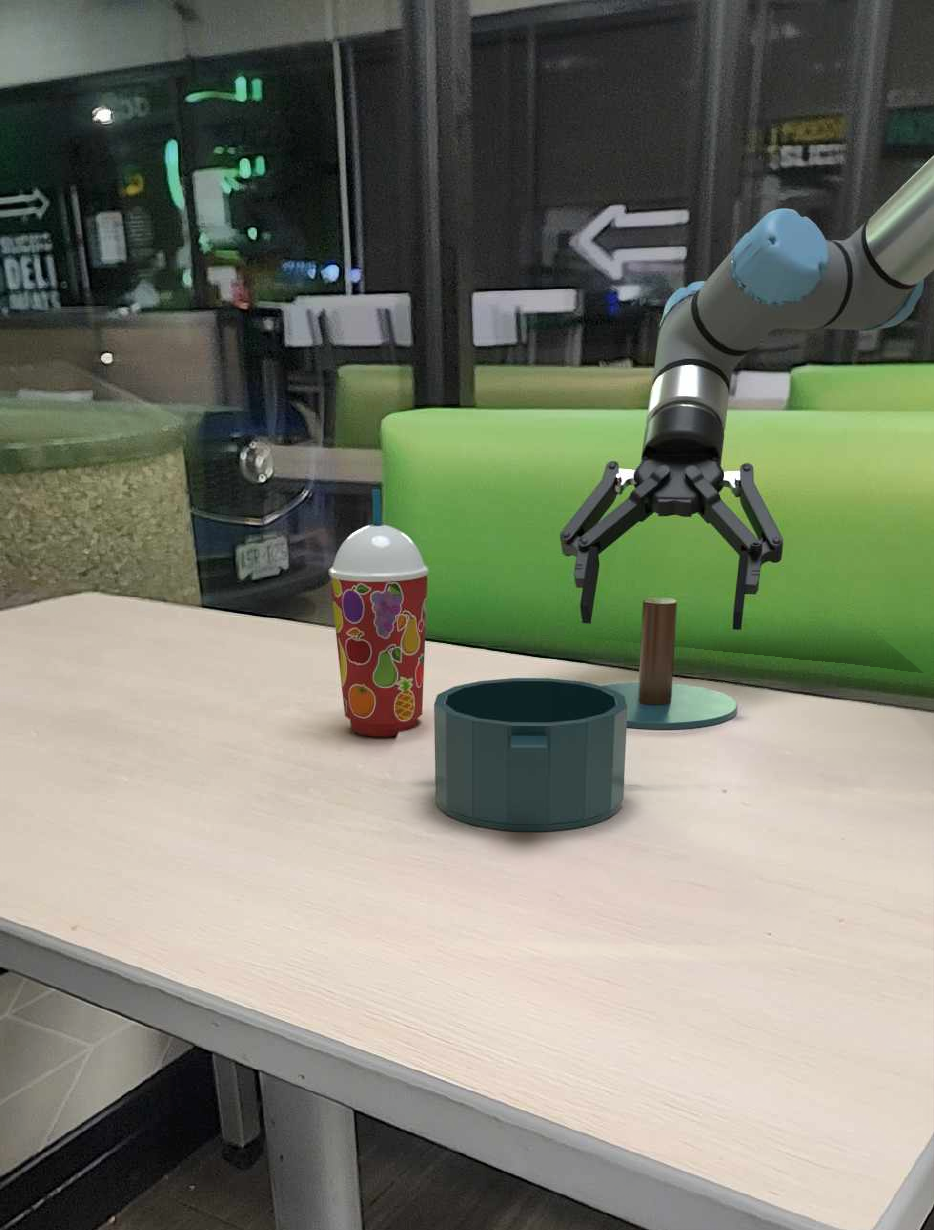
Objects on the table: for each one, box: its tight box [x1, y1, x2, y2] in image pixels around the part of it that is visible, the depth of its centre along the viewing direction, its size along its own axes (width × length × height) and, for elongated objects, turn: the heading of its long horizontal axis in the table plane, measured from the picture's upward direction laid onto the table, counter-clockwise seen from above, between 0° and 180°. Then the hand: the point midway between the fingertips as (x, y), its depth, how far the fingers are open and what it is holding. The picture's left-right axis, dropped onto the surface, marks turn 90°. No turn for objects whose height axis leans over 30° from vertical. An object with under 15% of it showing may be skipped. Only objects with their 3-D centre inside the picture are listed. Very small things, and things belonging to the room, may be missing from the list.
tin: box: [433, 677, 628, 833], centre depth 91 cm, size 14×19×8 cm
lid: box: [602, 597, 738, 730], centre depth 113 cm, size 15×15×10 cm
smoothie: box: [328, 489, 430, 738], centre depth 107 cm, size 8×8×20 cm
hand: (660, 618), depth 114 cm, fingers open, 13 cm apart
